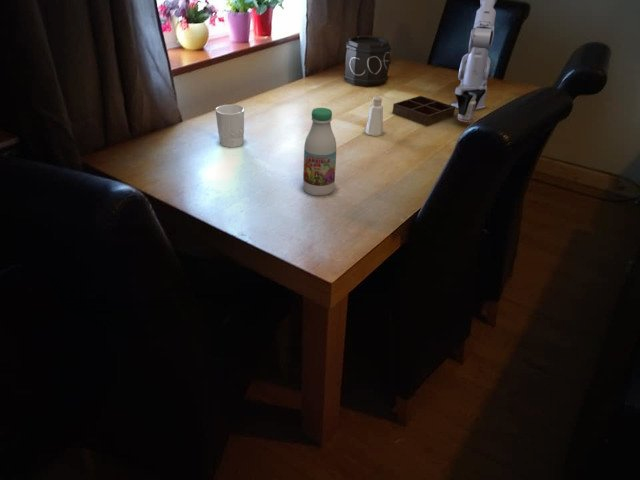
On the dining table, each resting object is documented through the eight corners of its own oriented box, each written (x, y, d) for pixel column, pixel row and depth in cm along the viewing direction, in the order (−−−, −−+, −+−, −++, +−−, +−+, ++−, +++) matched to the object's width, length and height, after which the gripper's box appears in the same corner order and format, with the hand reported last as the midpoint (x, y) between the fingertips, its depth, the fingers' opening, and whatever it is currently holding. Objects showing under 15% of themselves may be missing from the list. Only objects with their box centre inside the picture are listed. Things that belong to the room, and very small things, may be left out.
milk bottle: (302, 181, 128) (303, 104, 117) (332, 181, 129) (337, 104, 117) (304, 196, 122) (305, 116, 110) (335, 196, 122) (340, 116, 111)
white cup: (250, 140, 149) (248, 106, 143) (237, 150, 142) (236, 115, 137) (226, 135, 151) (223, 102, 145) (213, 145, 144) (210, 111, 139)
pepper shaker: (372, 128, 160) (376, 93, 154) (386, 133, 157) (390, 98, 151) (361, 132, 157) (364, 97, 151) (374, 137, 154) (378, 102, 148)
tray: (419, 104, 181) (420, 95, 179) (453, 116, 172) (455, 106, 170) (392, 113, 172) (393, 103, 170) (427, 126, 164) (428, 116, 162)
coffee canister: (391, 89, 195) (396, 46, 186) (344, 87, 195) (347, 44, 186) (386, 75, 210) (391, 35, 201) (343, 73, 210) (346, 33, 201)
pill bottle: (472, 123, 162) (478, 97, 157) (457, 121, 162) (462, 95, 158) (472, 118, 165) (477, 92, 161) (457, 116, 166) (462, 91, 161)
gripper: (472, 76, 148) (463, 121, 156) (499, 68, 157) (489, 111, 164) (452, 71, 153) (445, 114, 160) (479, 63, 161) (470, 105, 168)
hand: (466, 112), depth 162 cm, fingers closed on pill bottle, 5 cm apart
